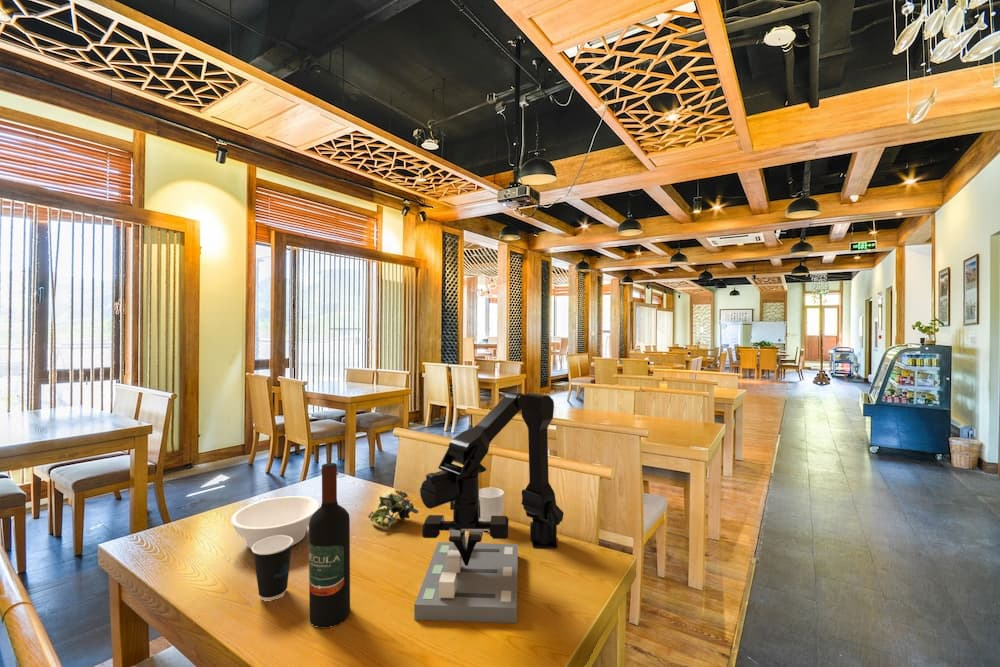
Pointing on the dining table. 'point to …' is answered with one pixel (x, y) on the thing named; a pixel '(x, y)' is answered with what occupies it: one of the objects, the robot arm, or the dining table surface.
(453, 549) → the block
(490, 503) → the white cup
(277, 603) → the dining table surface
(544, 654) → the dining table surface
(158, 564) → the dining table surface
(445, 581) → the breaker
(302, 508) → the bowl
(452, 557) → the block
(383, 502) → the green leafy clump
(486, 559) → the grey slider switch panel
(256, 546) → the dixie cup
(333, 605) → the wine bottle
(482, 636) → the dining table surface
